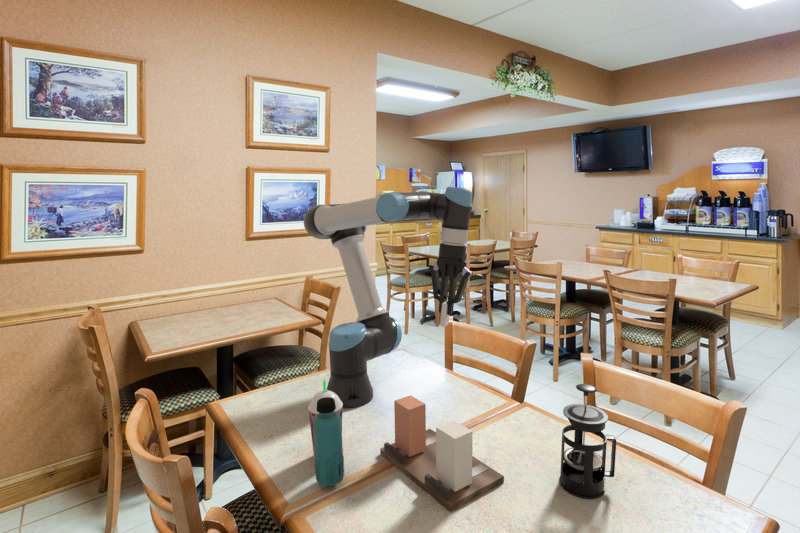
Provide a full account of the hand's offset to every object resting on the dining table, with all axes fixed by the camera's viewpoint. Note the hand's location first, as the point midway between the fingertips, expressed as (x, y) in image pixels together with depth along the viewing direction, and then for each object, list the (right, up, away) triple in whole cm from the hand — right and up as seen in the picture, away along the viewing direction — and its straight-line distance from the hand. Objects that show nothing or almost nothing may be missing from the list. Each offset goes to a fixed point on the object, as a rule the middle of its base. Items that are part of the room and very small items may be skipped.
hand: (444, 324), depth 129 cm
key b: (-10, -28, -18) cm, 35 cm away
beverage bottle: (-28, -32, -28) cm, 51 cm away
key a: (-1, -30, -31) cm, 43 cm away
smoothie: (-31, -31, -18) cm, 47 cm away
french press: (+28, -32, -30) cm, 52 cm away
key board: (-4, -31, -23) cm, 39 cm away
